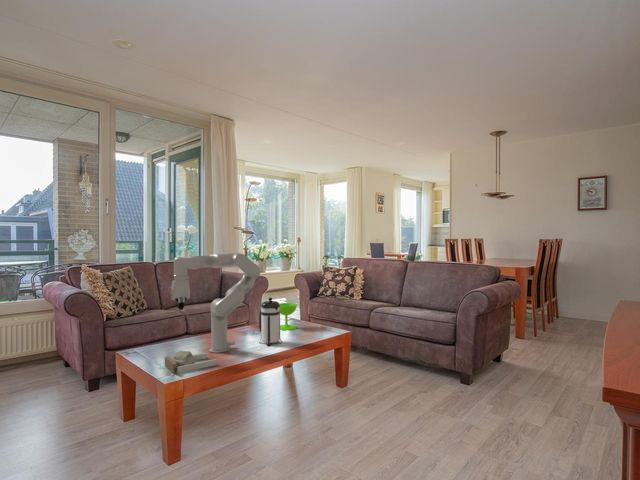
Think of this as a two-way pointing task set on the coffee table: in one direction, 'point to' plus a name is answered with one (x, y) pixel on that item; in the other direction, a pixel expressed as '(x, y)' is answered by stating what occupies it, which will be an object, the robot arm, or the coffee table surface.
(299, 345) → the coffee table surface
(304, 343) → the coffee table surface
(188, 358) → the fossil replica
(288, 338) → the coffee table surface
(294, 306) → the wineglass
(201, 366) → the channel
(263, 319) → the coffee press
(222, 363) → the coffee table surface
